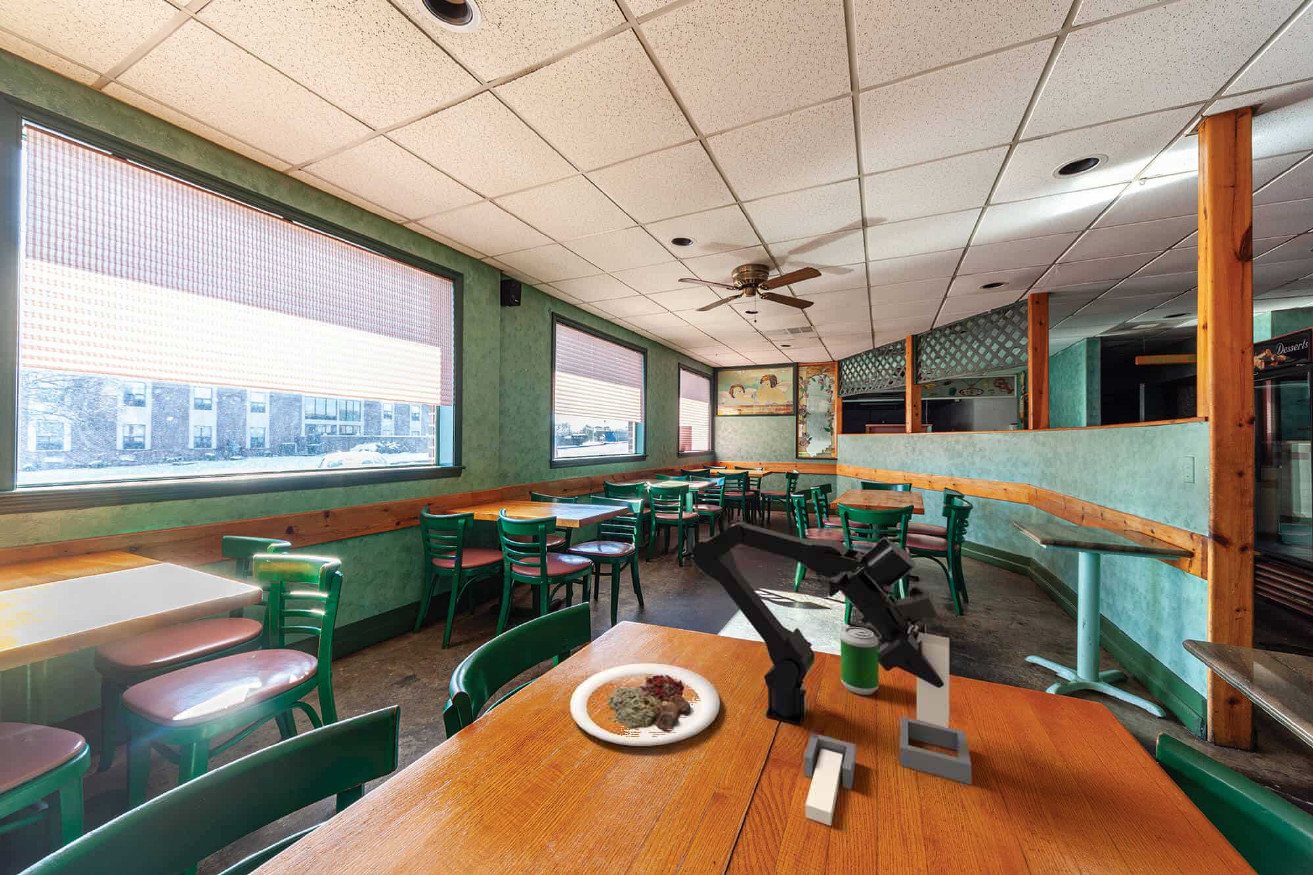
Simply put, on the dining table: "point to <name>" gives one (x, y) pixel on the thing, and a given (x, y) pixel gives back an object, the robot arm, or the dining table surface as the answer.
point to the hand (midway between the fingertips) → (942, 679)
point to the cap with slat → (827, 774)
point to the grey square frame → (932, 760)
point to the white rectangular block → (929, 696)
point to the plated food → (650, 704)
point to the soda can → (859, 660)
